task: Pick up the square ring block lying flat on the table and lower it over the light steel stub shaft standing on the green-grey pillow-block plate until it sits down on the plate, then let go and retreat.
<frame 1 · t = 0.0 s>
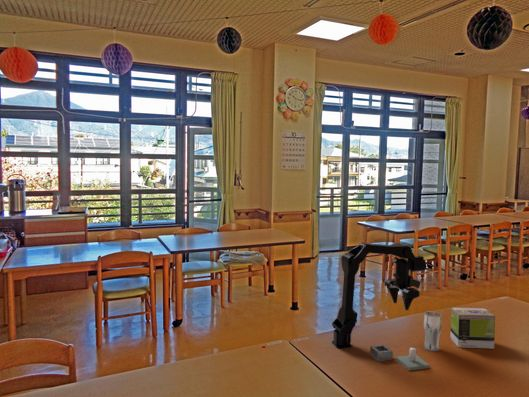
hand: (400, 306, 184), 15 cm above the table, fingers open, 9 cm apart
square ring block: (381, 356, 167), on the table
shaft block: (412, 363, 162), on the table
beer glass: (431, 348, 175), on the table
tea box: (471, 344, 180), on the table
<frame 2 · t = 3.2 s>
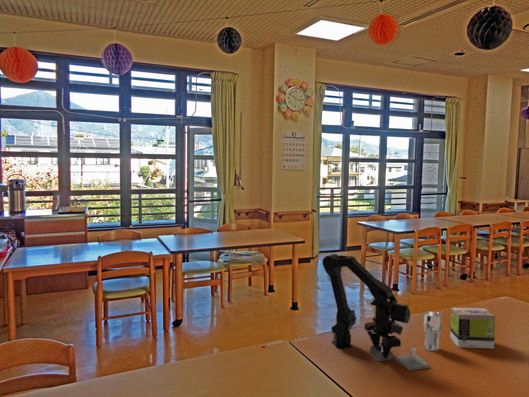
hand: (381, 354, 167), 1 cm above the table, fingers closed on square ring block, 6 cm apart
square ring block: (381, 356, 167), on the table, touching gripper
everything else where it was.
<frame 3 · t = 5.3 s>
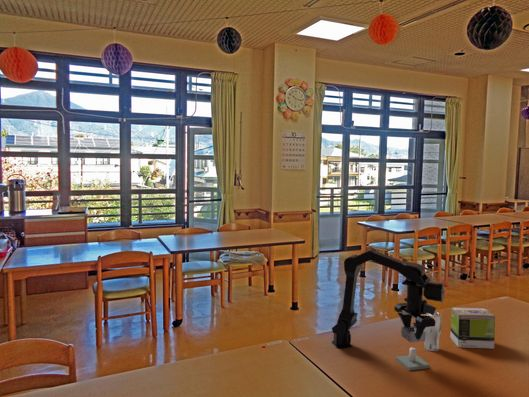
hand: (413, 335, 161), 11 cm above the table, fingers closed on square ring block, 6 cm apart
square ring block: (413, 338, 161), point 10 cm above the table, touching gripper
everything else where it was.
when the fingers open (3 cm above the table, at t = 7.4 s): square ring block stays where it is, resting on shaft block.
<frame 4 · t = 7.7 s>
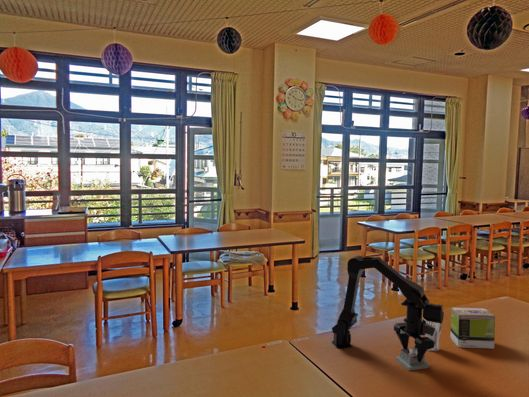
hand: (412, 356, 161), 3 cm above the table, fingers open, 9 cm apart
square ring block: (412, 360, 162), point 1 cm above the table, touching shaft block
everything else where it was.
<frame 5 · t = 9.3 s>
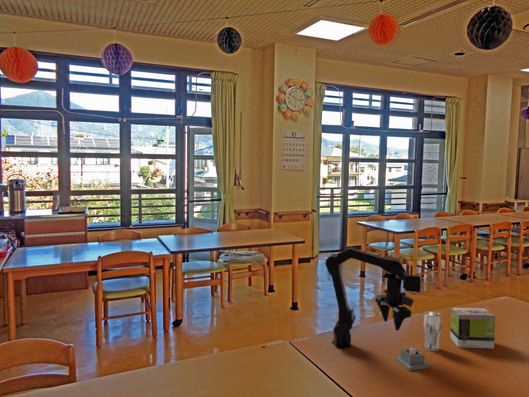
hand: (391, 325, 170), 12 cm above the table, fingers open, 9 cm apart
nothing on the table moved.
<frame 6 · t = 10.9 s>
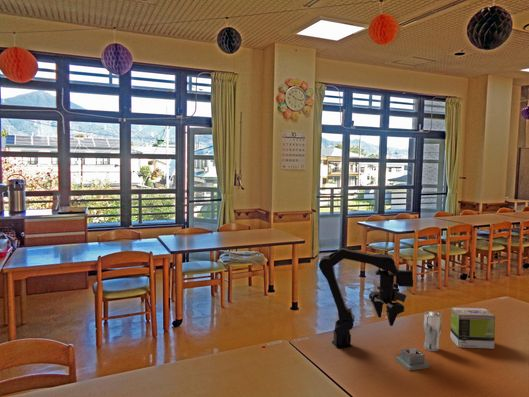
hand: (385, 321, 173), 12 cm above the table, fingers open, 9 cm apart
nothing on the table moved.
at the end: square ring block 0.0 cm off-centre on the shaft block, point 1.2 cm above the shaft block's base; square ring block tilted 0°; the gripper is holding nothing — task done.
